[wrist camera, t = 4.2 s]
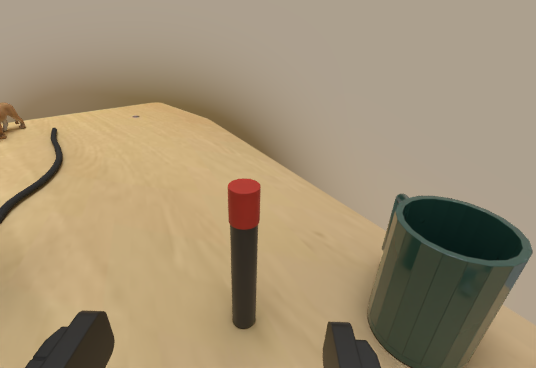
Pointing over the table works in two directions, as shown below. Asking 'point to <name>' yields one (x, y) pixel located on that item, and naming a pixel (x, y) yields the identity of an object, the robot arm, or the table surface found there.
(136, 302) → the table surface
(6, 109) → the brown animal figure
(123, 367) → the table surface
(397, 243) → the mug
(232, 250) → the marker
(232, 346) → the table surface
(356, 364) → the robot arm
